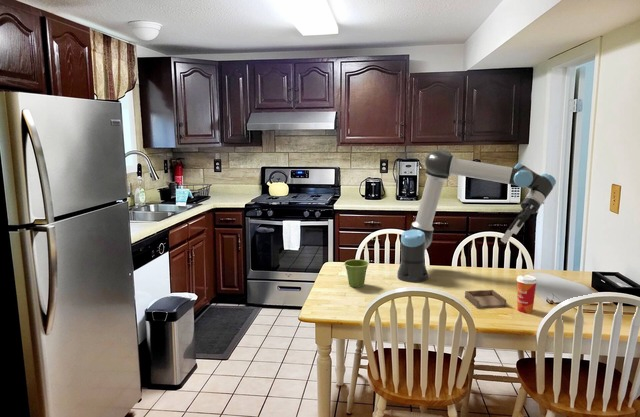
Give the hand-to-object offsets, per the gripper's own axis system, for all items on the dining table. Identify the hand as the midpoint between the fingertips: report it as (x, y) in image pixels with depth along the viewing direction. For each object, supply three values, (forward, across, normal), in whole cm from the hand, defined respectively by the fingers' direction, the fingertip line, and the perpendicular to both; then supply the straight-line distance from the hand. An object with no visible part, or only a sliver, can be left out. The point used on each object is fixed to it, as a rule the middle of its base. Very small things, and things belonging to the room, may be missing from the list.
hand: (508, 237), depth 205 cm
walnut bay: (+30, +2, -8) cm, 31 cm away
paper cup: (+26, -6, -21) cm, 34 cm away
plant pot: (+56, +22, +42) cm, 73 cm away
